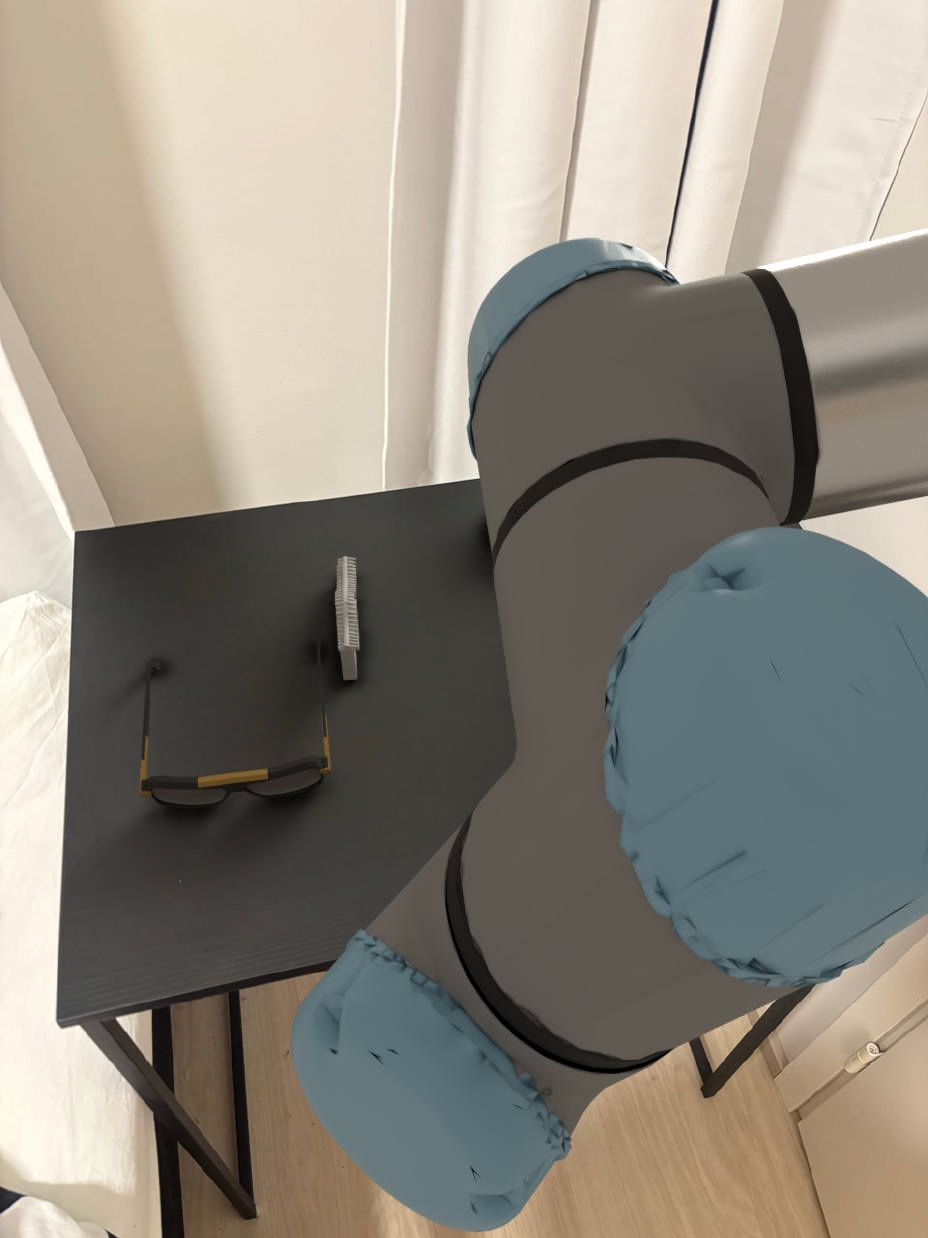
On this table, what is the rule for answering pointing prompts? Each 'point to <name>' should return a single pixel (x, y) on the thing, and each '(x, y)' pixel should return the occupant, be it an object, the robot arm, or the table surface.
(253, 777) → the sunglasses
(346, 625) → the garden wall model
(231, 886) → the table surface
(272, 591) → the table surface
